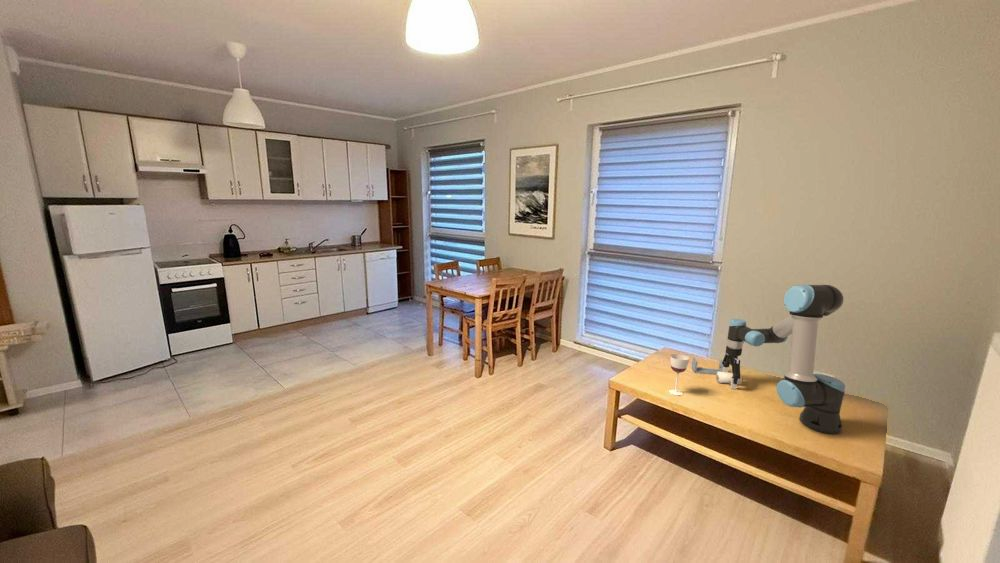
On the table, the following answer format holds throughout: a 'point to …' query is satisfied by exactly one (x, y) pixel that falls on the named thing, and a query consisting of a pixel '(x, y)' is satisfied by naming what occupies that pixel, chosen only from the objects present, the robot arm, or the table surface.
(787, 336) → the robot arm
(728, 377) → the paper roll
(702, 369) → the holder
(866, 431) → the table surface
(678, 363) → the wineglass
